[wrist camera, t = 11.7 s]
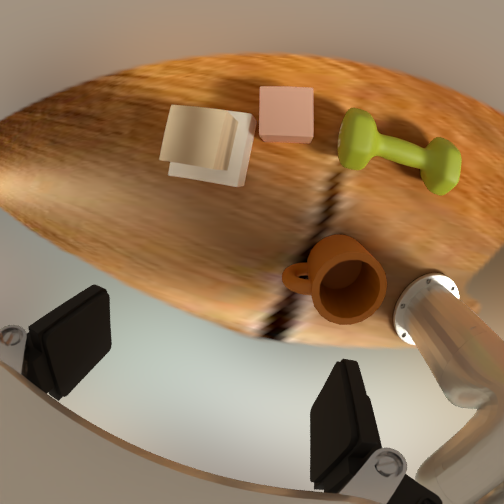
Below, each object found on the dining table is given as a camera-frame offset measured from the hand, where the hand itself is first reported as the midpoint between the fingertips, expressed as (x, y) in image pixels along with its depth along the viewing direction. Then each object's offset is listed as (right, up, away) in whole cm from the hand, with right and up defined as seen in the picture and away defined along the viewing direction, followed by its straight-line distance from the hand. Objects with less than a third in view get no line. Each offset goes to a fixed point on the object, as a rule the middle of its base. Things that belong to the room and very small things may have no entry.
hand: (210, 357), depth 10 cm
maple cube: (-4, +17, +21) cm, 27 cm away
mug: (+12, +2, +27) cm, 30 cm away
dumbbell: (+21, +17, +22) cm, 35 cm away
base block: (-3, +18, +25) cm, 31 cm away
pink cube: (+6, +21, +23) cm, 32 cm away
